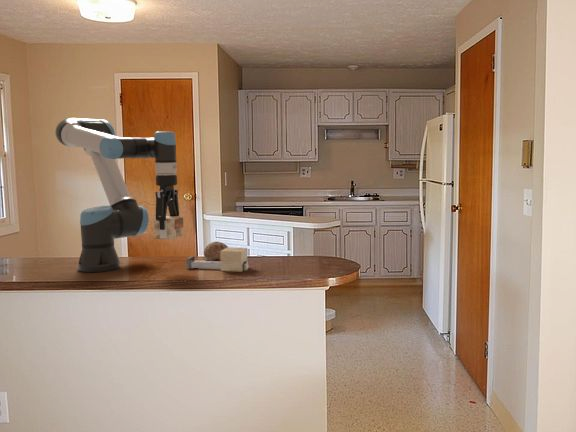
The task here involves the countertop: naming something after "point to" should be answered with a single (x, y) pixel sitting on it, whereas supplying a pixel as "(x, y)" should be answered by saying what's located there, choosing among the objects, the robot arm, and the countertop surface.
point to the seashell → (214, 250)
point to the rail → (212, 265)
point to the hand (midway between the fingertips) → (168, 236)
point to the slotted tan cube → (170, 227)
